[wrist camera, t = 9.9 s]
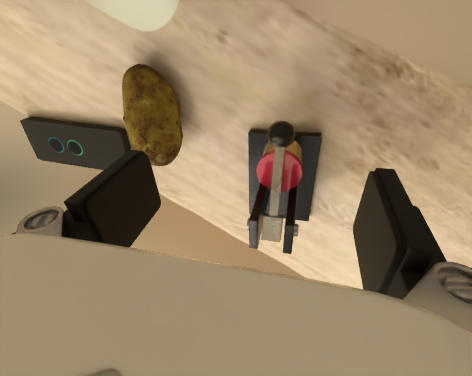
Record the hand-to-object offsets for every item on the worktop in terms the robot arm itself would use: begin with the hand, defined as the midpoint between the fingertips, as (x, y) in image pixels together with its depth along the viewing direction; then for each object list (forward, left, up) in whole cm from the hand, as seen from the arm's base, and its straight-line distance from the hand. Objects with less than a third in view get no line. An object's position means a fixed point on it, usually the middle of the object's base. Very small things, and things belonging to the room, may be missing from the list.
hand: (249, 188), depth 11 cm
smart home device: (+12, -36, -26) cm, 46 cm away
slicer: (+15, 0, -26) cm, 30 cm away
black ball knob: (+11, 0, -18) cm, 21 cm away
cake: (+10, 0, -25) cm, 27 cm away
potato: (+5, -18, -26) cm, 32 cm away
